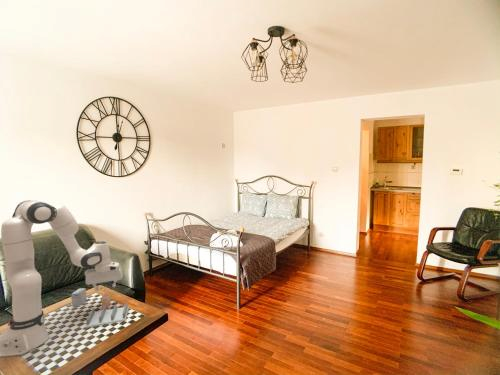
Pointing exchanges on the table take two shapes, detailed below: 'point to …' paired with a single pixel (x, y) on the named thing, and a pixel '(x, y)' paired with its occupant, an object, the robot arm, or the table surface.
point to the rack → (107, 316)
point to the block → (105, 300)
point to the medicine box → (78, 297)
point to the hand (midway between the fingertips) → (105, 288)
